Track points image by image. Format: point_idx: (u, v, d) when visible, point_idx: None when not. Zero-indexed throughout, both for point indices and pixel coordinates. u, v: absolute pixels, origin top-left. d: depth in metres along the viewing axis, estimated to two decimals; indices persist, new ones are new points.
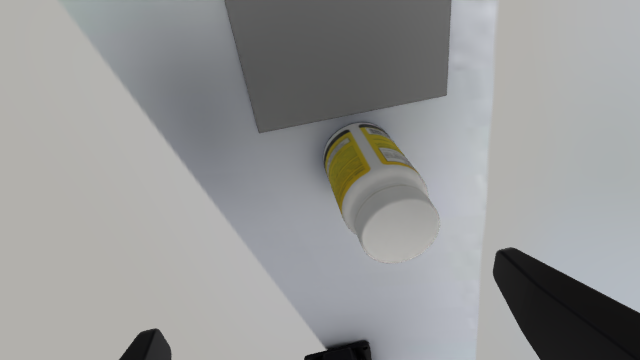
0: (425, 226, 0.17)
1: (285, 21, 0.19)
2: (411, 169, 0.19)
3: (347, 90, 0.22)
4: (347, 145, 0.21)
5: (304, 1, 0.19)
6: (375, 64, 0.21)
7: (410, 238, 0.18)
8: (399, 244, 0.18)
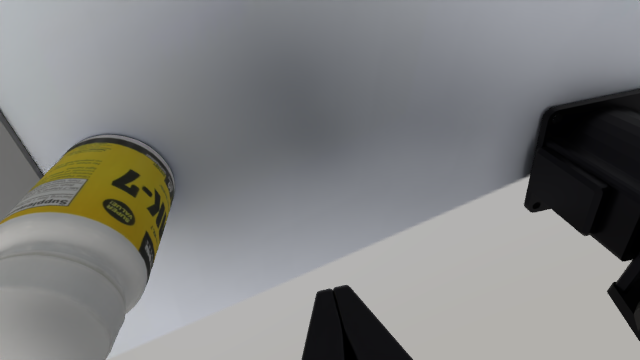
0: None
1: None
2: None
3: None
4: None
5: None
6: None
7: (36, 327, 0.09)
8: (57, 338, 0.10)
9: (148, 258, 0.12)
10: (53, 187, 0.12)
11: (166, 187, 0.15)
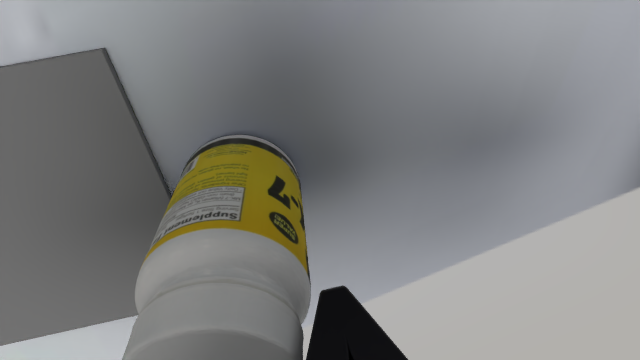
0: (188, 356, 0.07)
1: (62, 285, 0.16)
2: (140, 269, 0.09)
3: (134, 214, 0.15)
4: None
5: (29, 272, 0.15)
6: (81, 183, 0.14)
7: None
8: None
9: None
10: (213, 196, 0.10)
11: (301, 195, 0.14)
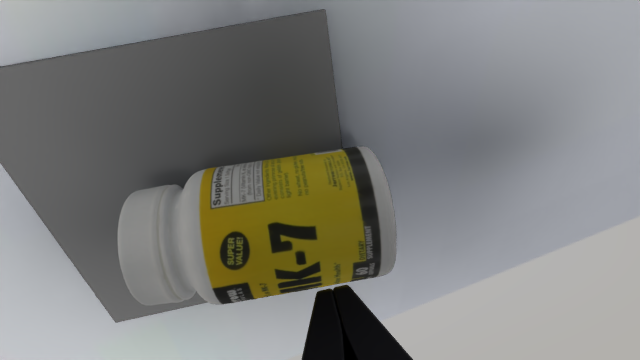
0: None
1: None
2: None
3: None
4: None
5: None
6: (269, 148, 0.14)
7: None
8: None
9: (227, 297, 0.11)
10: (246, 180, 0.11)
11: (350, 269, 0.11)
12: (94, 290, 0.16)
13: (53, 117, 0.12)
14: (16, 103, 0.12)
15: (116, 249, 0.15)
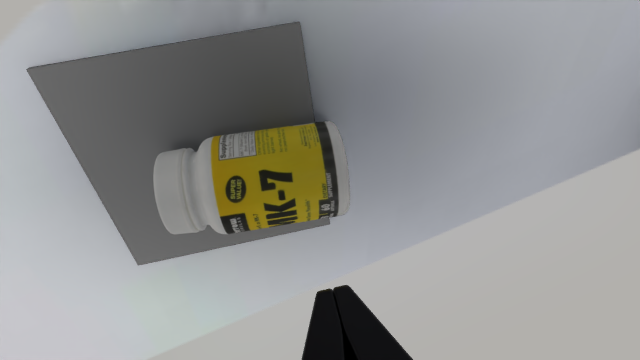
0: None
1: None
2: None
3: None
4: None
5: None
6: (260, 123, 0.19)
7: None
8: None
9: (230, 225, 0.16)
10: (243, 142, 0.16)
11: (317, 205, 0.16)
12: (123, 236, 0.21)
13: (103, 98, 0.17)
14: (77, 87, 0.16)
15: (142, 202, 0.20)
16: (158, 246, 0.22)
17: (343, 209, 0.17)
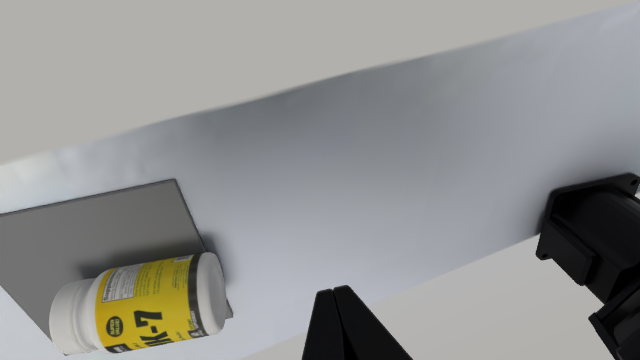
0: None
1: None
2: (113, 268, 0.21)
3: None
4: None
5: None
6: (154, 251, 0.22)
7: None
8: None
9: (115, 351, 0.20)
10: (125, 283, 0.20)
11: (187, 334, 0.20)
12: (48, 336, 0.24)
13: (14, 242, 0.20)
14: None
15: None
16: None
17: (212, 333, 0.20)
